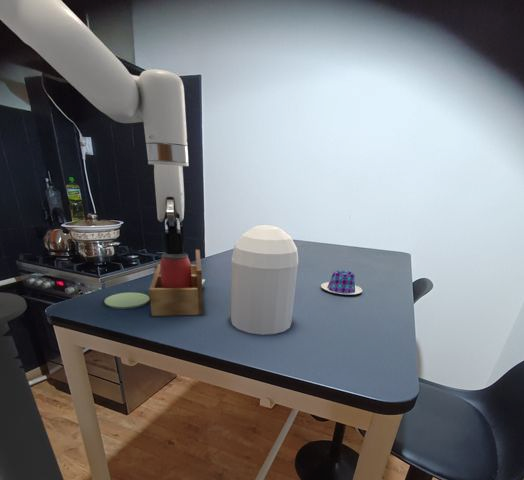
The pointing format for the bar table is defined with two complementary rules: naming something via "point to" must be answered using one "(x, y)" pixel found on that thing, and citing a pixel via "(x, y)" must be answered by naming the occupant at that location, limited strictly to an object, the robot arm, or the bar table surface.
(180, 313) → the box
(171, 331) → the bar table surface
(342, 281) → the pudding
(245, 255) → the container
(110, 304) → the coaster
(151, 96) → the robot arm
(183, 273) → the beer can
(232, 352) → the bar table surface
